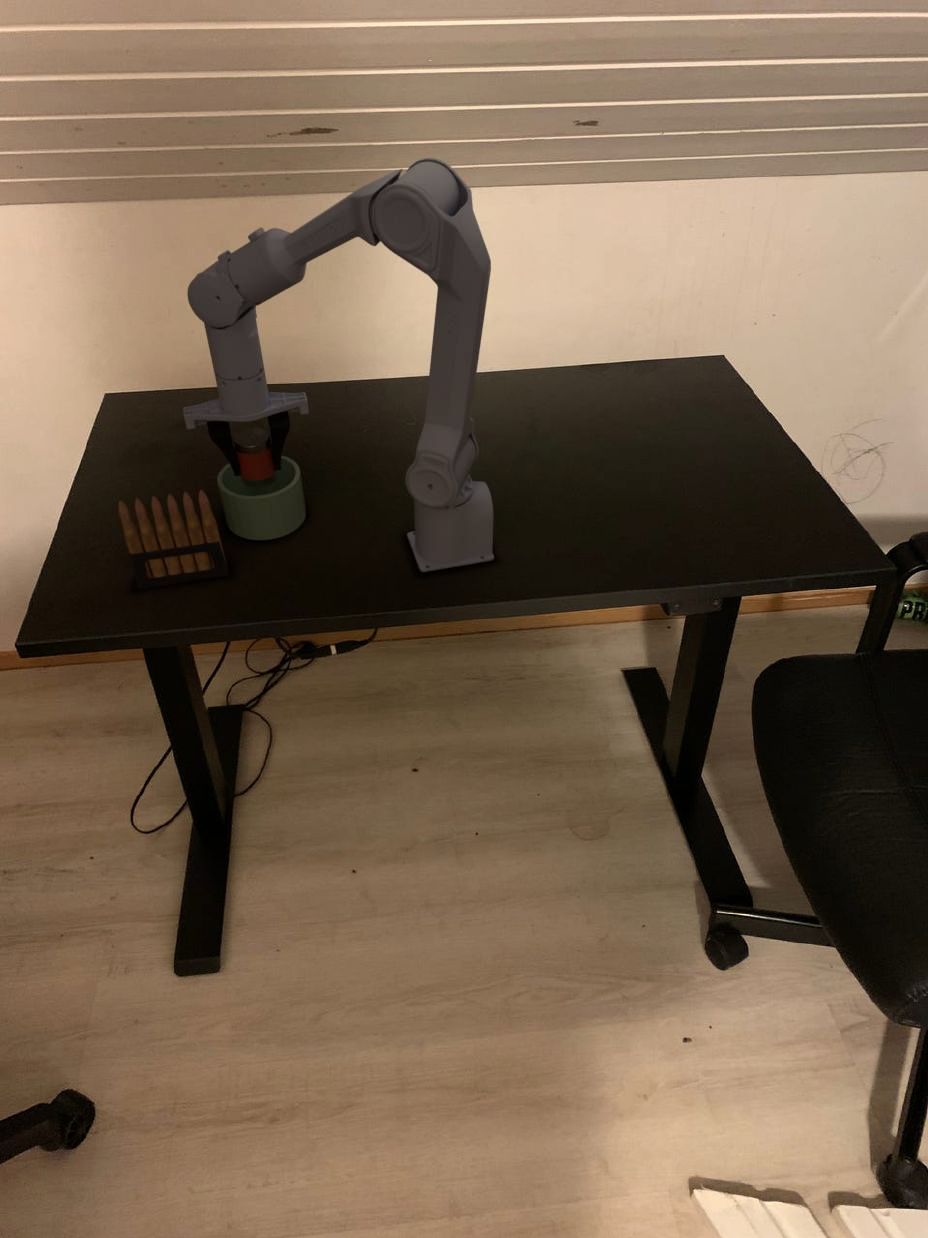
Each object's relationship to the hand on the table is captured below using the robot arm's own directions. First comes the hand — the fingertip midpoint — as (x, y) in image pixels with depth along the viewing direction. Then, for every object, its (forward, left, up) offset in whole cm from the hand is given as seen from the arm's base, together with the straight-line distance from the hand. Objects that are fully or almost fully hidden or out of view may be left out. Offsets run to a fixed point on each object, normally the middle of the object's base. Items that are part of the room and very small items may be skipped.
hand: (257, 468), depth 110 cm
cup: (0, 0, -7) cm, 7 cm away
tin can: (0, 0, -1) cm, 1 cm away
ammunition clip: (+11, +10, -8) cm, 17 cm away
